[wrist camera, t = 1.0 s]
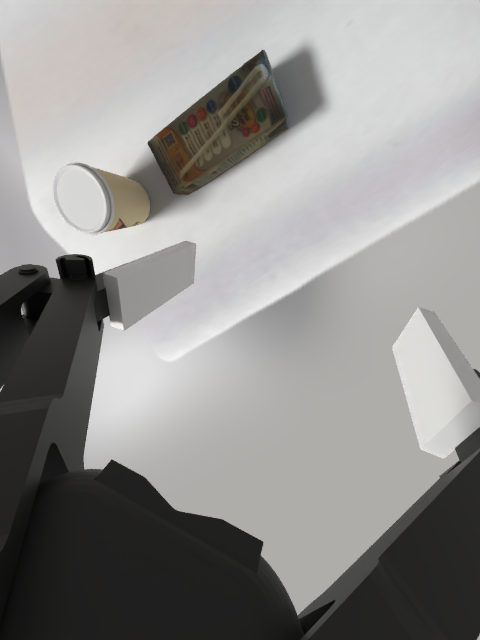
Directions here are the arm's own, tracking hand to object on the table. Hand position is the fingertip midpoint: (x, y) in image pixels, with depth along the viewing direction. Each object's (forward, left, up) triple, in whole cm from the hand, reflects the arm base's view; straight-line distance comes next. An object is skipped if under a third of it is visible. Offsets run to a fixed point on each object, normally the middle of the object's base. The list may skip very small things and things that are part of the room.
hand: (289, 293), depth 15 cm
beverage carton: (-16, -11, -30) cm, 36 cm away
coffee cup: (-10, -30, -30) cm, 43 cm away
